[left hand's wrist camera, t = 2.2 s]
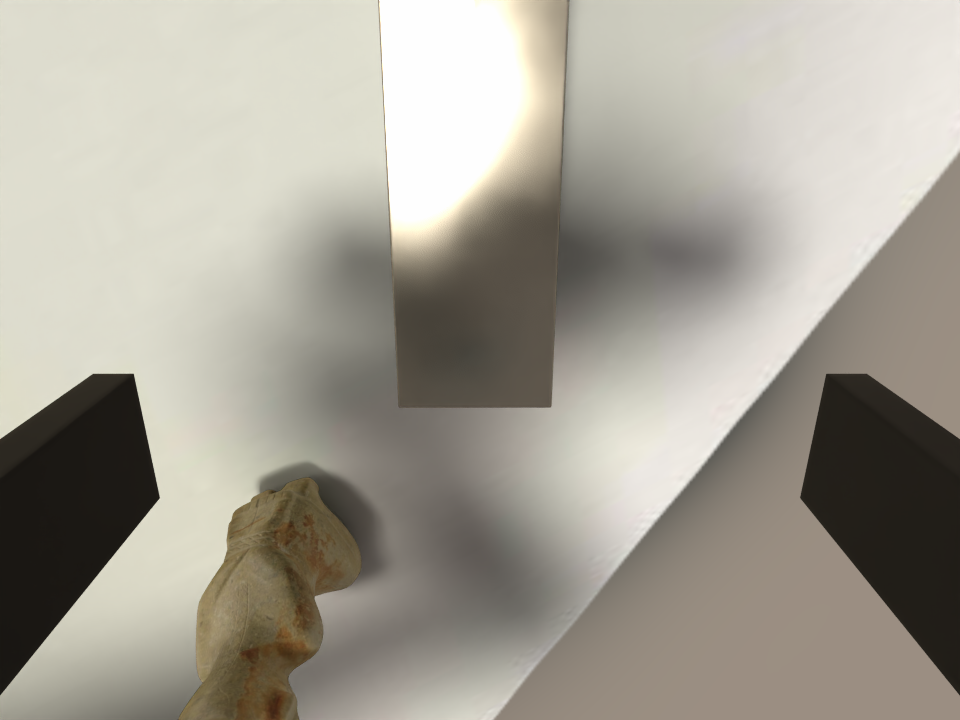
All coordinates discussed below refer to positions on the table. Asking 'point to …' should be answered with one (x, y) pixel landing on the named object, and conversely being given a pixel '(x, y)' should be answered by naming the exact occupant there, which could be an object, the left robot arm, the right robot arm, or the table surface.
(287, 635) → the sculpture
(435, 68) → the bar
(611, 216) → the table surface
